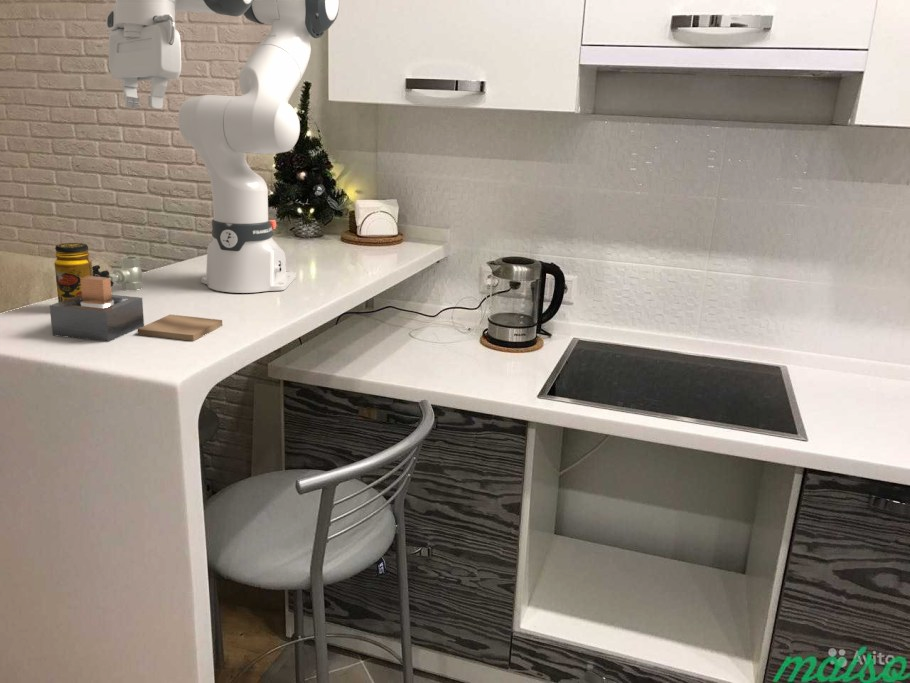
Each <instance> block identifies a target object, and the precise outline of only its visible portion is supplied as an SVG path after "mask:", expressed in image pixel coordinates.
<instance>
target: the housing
mask: <svg viewBox="0 0 910 683" xmlns="http://www.w3.org/2000/svg"><path fill="white" fill-rule="evenodd" d="M111 295H112V300H114V305H111V306H109V307H106V308H94V307H85V306H81V301H82V295H79V296H76V297H73V298H70V299H67V300H64V301H61V302H58V301H57V302H56V303H55V302H54V303H53V304H49V313H50V314H49V315H50V323H51V324H50V325H51V332H52V334H51V335H52V336H55V335H58V336H57V337H63V336H68V337H67V338H72V337H73V339H81V340H83V339H84V340H89V339H90V341H99V342H108V343H109V342H111V341H113V340H115V338H116V339H117V338H119V337H122V336H124V334H125V335H127V334H129V333H132V332H133V330H134V331H136V330H138V328H141V327H142V326H145V319H144V318H145V317H144V304H143V303H144V302H143V297H138V296H130V295H119V294H113V293H111ZM135 329H136V330H135Z"/></svg>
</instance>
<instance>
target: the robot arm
mask: <svg viewBox="0 0 910 683" xmlns="http://www.w3.org/2000/svg"><path fill="white" fill-rule="evenodd" d="M339 9H340V0H115V2H114V4H113V8H112V9H111V11H110V12H109V13H108V15H107V16H106V18H105V19H106V20H105V28H106V30H107V31H110V33H109V36H108V61H109V62H108V66H109V71H110V74H111V77H112V79H115V80H119V81H121V87H122V91H123V95H124V97H125V98H124V106H125V107H126V109H132V110H133V109H134V110H135V109H139V107H140V97H138V91H137V90H138V88H139V82H143V81H150V84H151V87H150V88H151V90H150V95H148V98H147V99H148V103H147V105H148V107H149V108H151V109H155V110H156V109H157V110H160V109H161V110H162V109H163V107H164V97H165V94H166V91H167V88H168V80H174V79H175V80H177V79H178V78H180V75H181V72H182V44H181V43H182V42H181V36H180V33H179V30H177V29H176V12H185V13H200V14H214V15H215V14H217V15H218V14H219V15H222V16H229V17H240V16H244V17H245V19H246V20H248V21H250V22H253V23H256V24H259V25H264V24H266V25H271V28H270V32H269V33H268V35H266V36H265V37H264V38H263V39H262V40H261V41H260V43H259V44H258V45H257V46H256V48H254V50H253V52H252V54H251V55H250V56H249V57H248V59H247V60H246V62H245V63H244V65H243V66H242V68H240V72H239V74H238V75H239V77H238V84H239V88H240V91H241V92H242V95H225V94H224V95H221V94H204V95H199V96H194V97H189V98H187V99H185V100H184V101H183V103H182V104H181V106H180V108H179V110H178V115H177V125H178V129H179V132H180V134H181V136H182V137H183V139H184V141H185V142H187V143H188V145H190V146H191V147H192V148H193V149H194V150H195V152H196V153H197V155H199V158H200V159H201V161H202V162H203V164H204V167H205V168H206V172H207V174H208V178H209V180H210V187H211V196H212V212H213V219H211V226H210V228H211V229H210V230H211V237H212V238H213V239H212V241H211V242H210V243H209V244H208V246H207V250H206V252H207V253H206V273H205V274H206V276H203V277H201V283H202V284H204V285H207V287H208V288H209V289H211V290H213V291H217V292H226V293H234V294H235V293H236V294H237V293H238V294H239V293H241V294H245V293H246V294H248V293H250V294H252V293H260V292H261V293H262V292H270V291H271V292H272V291H273V292H274V291H275V292H276V291H285V290H286V288H288V287H289V285H290V284H292V282H293V281H294V280H295V279H296V278H297V272H296V271H291V270H288V269H287V258H286V253H285V250H283V249H282V248H281V247H280V245H279V244H278V243H277V242H276V241H275V239H274V238H273V236H274V234H273V230H275V229H276V228H277V221H276V219H269V200H268V199H269V196H268V195H269V192H268V191H269V190H268V185H267V183H266V180H264V178H263V177H262V176H261V175H259V174H258V173H257V172H255V171H253V170H252V168H251V167H250V166H249V163H248V162H247V159H246V157H245V156H246V155H245V154H252V155H253V154H254V155H255V154H256V155H266V156H267V155H275V154H282V153H287V152H289V151H291V150H293V148H294V147H295V145H296V144H297V142H298V140H299V138H300V137H299V136H300V133H301V123H300V119H299V116H298V113H297V112H296V110H295V109H294V108H293V106H292V105H291V104H290V103H289V101H290V99H291V96H292V95H293V93H294V91H295V90H296V88H297V86H299V83H300V82H301V79H302V78H303V75H304V74H305V72H306V70H307V67H308V64H309V61H310V58H311V52H312V48H311V47H312V45H311V42H310V41H311V38H313V39H319V38H321V37H323V36H324V34H325V32H326V31H328V30H329V29H330V27H331V26H332V25H333V24H334V23H335V21H336V20H337V18H338V15H339Z"/></svg>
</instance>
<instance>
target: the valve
mask: <svg viewBox="0 0 910 683" xmlns="http://www.w3.org/2000/svg"><path fill="white" fill-rule="evenodd" d="M119 265H120V268H117V269H115V270H113V272H112V273H110V272H109V270H107V269H106V270H103V271H99V270H101V266H100V265H97V264H96V265H92V269H93V276H95V277H105V278H110V283H111V288H112V287H114V284H115V283H116V285H117V284H118V285H121V289H122V288H123V289H125V290H137V289H140V290H142V289H143V284H142V281H141V280H142V277H143V271H142V268H141V267H140V266H141V257H139V256H135V255H128V256H127V255H125V256H121V257H120V258H119ZM141 288H142V289H141ZM123 289H122V290H123ZM125 290H124V291H125ZM137 291H138V290H137Z"/></svg>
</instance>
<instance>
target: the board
mask: <svg viewBox="0 0 910 683" xmlns="http://www.w3.org/2000/svg"><path fill="white" fill-rule="evenodd" d="M220 326H221V327H222V326H223V319H216V318H206V317H198V316H188V315H178V314H168V315H165V316H163V317H160V318H159V319H156V320H154V321H152V322H150V323H148V324H146V325H145V324H144V326H143V327H140V328H138V329H137V335H138V336H145V337H154V336H156V338H162V337H165V338H164V339H171V338H175V339H174V340H180V341H181V340H182V341H189V342H190V341H191V342H195V341H197V340H199V339H200V338H202V337H203V335H204V336H206V335H207V333H208V334H209V333H212V332H213V331H215V330H216V329H217V330H218V329H219V328H220ZM218 327H219V328H218ZM205 334H206V335H205Z"/></svg>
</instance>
